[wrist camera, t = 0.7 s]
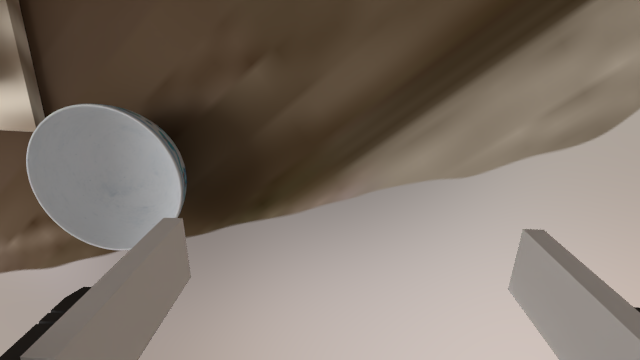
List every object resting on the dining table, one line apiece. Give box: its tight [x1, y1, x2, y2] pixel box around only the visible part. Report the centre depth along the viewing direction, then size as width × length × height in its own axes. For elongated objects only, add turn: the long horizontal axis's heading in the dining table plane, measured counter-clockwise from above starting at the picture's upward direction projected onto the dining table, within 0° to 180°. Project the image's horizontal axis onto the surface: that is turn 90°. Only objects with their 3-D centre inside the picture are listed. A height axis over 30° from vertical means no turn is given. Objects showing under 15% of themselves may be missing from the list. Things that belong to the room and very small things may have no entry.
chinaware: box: [26, 104, 187, 250], centre depth 37 cm, size 15×15×8 cm
